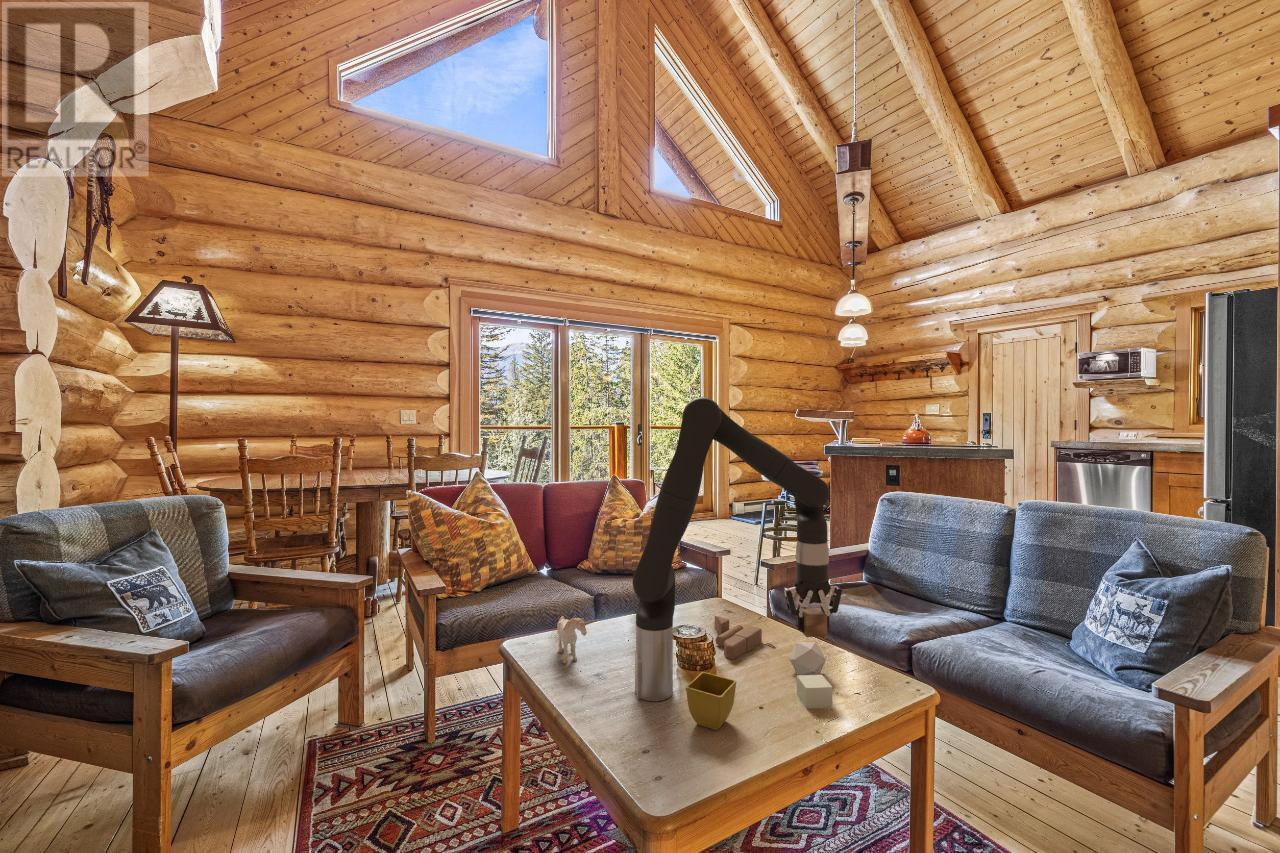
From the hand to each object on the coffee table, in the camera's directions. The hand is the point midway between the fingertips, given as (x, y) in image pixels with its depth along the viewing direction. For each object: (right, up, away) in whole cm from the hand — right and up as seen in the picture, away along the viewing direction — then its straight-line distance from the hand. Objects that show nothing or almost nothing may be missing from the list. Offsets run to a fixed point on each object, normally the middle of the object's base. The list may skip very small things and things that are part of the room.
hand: (812, 630), depth 135 cm
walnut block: (0, 0, 0) cm, 1 cm away
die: (+3, -18, +16) cm, 24 cm away
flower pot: (-25, -18, -8) cm, 32 cm away
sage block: (+1, -18, +2) cm, 18 cm away
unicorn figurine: (-59, -18, +27) cm, 67 cm away
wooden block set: (-16, -18, +37) cm, 44 cm away
